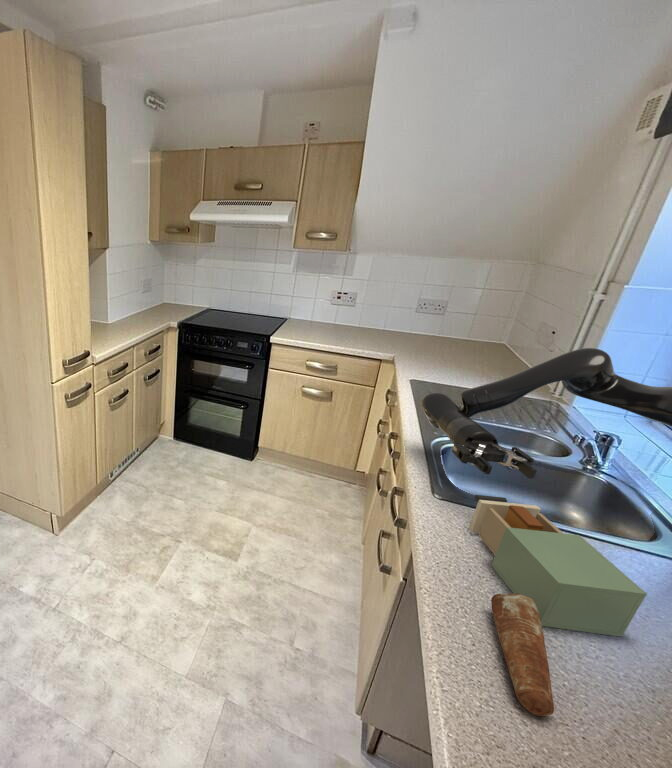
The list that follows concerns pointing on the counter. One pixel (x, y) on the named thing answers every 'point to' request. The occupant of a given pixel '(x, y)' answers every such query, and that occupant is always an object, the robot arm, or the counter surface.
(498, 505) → the drawer
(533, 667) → the bread
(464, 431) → the robot arm
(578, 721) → the counter surface
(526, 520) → the brown block
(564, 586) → the cabinet
